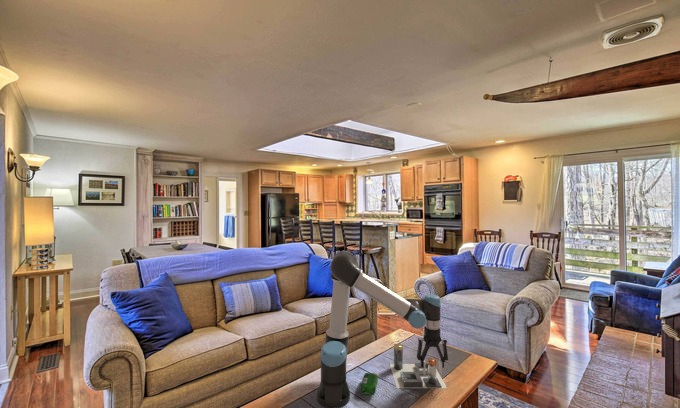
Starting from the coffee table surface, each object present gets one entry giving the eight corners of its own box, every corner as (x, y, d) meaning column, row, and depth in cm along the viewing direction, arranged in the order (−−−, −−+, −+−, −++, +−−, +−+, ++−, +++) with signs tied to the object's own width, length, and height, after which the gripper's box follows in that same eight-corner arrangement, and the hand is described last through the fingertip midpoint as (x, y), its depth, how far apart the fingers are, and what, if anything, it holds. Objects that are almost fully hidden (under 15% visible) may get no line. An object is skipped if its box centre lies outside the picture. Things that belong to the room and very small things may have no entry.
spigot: (394, 370, 164) (394, 347, 164) (393, 365, 169) (393, 343, 169) (403, 370, 164) (403, 347, 164) (401, 365, 169) (401, 343, 169)
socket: (418, 375, 160) (418, 371, 160) (414, 366, 168) (414, 363, 168) (434, 375, 160) (434, 371, 160) (429, 366, 168) (429, 363, 168)
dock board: (396, 389, 149) (396, 388, 149) (389, 365, 171) (389, 363, 171) (447, 389, 149) (447, 388, 149) (433, 365, 171) (433, 364, 171)
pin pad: (426, 387, 149) (426, 386, 149) (423, 379, 156) (423, 378, 156) (441, 387, 149) (441, 386, 149) (437, 379, 156) (437, 378, 156)
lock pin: (427, 380, 154) (427, 358, 154) (435, 380, 154) (434, 358, 154) (429, 384, 151) (429, 362, 150) (437, 384, 151) (437, 362, 150)
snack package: (358, 398, 143) (358, 387, 143) (364, 379, 158) (364, 369, 158) (374, 401, 141) (374, 389, 141) (378, 381, 156) (378, 371, 156)
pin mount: (403, 387, 149) (403, 382, 149) (400, 376, 158) (400, 371, 158) (422, 387, 149) (422, 382, 149) (418, 376, 158) (418, 371, 158)
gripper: (413, 330, 149) (413, 378, 149) (455, 330, 149) (455, 378, 149) (409, 324, 156) (409, 369, 156) (450, 324, 156) (450, 369, 156)
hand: (432, 373), depth 153 cm, fingers open, 7 cm apart
